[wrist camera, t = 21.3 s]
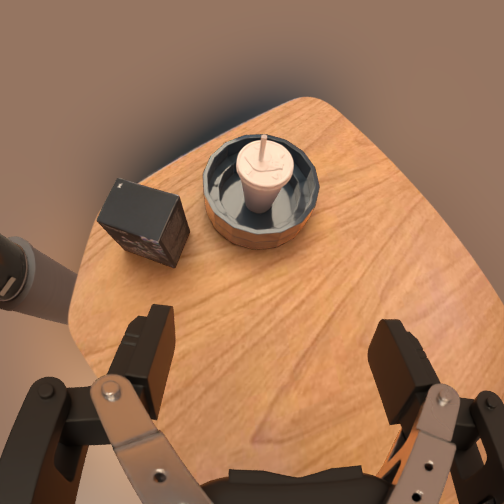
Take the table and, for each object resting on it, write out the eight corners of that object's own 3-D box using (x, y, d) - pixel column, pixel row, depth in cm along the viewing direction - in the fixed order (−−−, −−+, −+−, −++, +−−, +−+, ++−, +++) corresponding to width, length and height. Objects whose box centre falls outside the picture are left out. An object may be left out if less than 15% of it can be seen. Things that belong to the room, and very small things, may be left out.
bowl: (209, 254, 41) (206, 238, 36) (204, 162, 46) (201, 137, 40) (316, 245, 43) (328, 229, 37) (299, 157, 47) (306, 133, 41)
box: (123, 251, 41) (94, 220, 31) (140, 214, 42) (117, 175, 32) (175, 270, 40) (158, 242, 30) (191, 231, 42) (180, 193, 32)
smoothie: (242, 176, 44) (247, 108, 31) (286, 187, 44) (307, 124, 31) (229, 215, 43) (228, 154, 29) (275, 228, 42) (294, 172, 29)
